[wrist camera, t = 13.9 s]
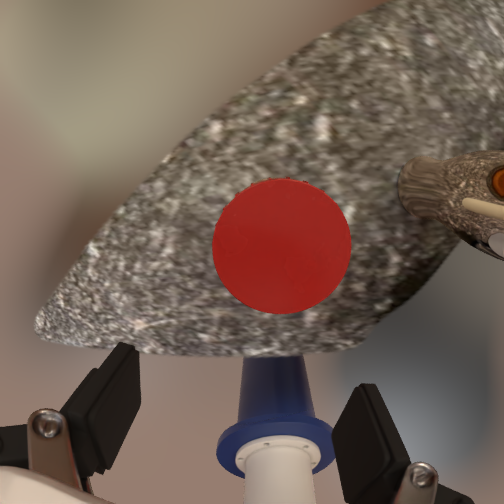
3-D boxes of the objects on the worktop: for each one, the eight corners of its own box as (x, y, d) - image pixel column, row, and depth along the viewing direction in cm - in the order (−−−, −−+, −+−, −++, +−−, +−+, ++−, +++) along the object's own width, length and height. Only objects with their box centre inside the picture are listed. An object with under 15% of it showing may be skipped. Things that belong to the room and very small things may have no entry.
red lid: (240, 313, 17) (238, 329, 15) (198, 201, 15) (190, 205, 14) (353, 279, 16) (364, 292, 15) (323, 161, 15) (331, 160, 13)
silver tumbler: (447, 223, 25) (555, 272, 10) (391, 222, 25) (500, 279, 10) (450, 155, 23) (566, 164, 8) (393, 147, 23) (512, 140, 9)
